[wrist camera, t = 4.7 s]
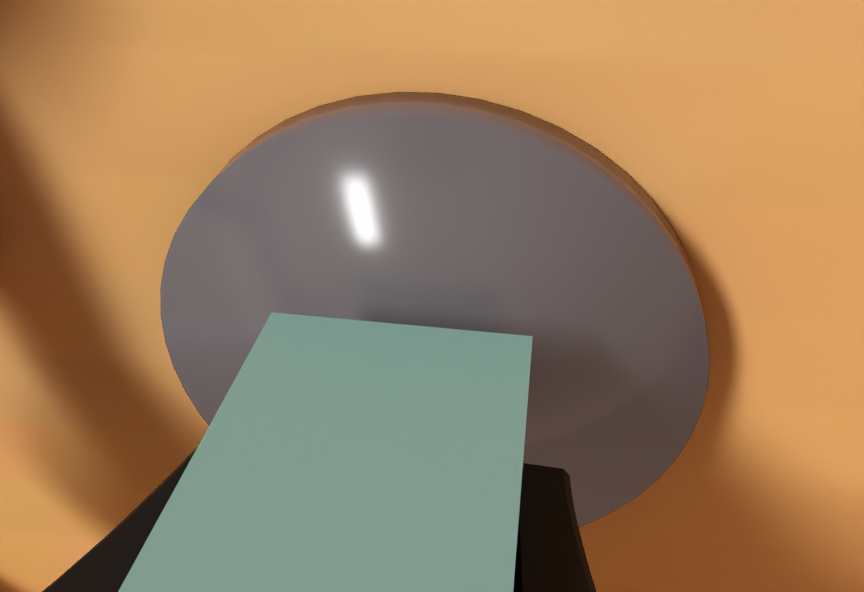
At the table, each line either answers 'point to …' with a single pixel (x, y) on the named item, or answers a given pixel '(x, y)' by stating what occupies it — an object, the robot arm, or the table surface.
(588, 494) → the dish
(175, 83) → the table surface
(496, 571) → the block
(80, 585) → the robot arm
